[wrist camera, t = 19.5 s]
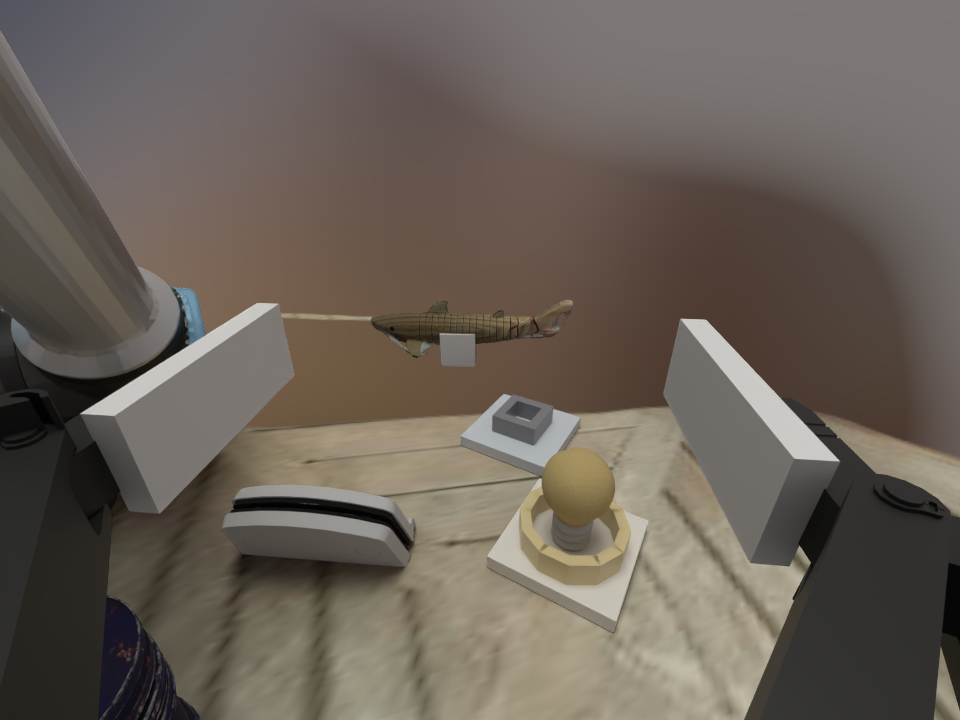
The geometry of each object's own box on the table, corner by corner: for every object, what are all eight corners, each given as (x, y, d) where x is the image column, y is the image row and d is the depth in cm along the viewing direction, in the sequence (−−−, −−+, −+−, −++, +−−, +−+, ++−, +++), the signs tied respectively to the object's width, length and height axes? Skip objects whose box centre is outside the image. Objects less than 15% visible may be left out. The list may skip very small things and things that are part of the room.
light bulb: (616, 559, 40) (634, 476, 36) (551, 573, 39) (561, 489, 34) (586, 507, 46) (598, 430, 41) (528, 518, 45) (533, 440, 40)
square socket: (460, 445, 57) (460, 420, 56) (503, 402, 67) (504, 379, 65) (545, 478, 52) (548, 451, 50) (579, 426, 61) (582, 402, 59)
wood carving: (571, 371, 75) (578, 310, 70) (369, 368, 76) (361, 308, 71) (564, 348, 83) (569, 292, 78) (381, 346, 84) (374, 290, 79)
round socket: (486, 567, 41) (487, 537, 39) (538, 488, 50) (540, 461, 49) (613, 632, 36) (620, 601, 34) (646, 531, 45) (653, 502, 43)
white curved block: (419, 525, 46) (404, 479, 38) (410, 573, 43) (393, 533, 35) (266, 514, 47) (224, 467, 40) (246, 560, 44) (196, 518, 37)
